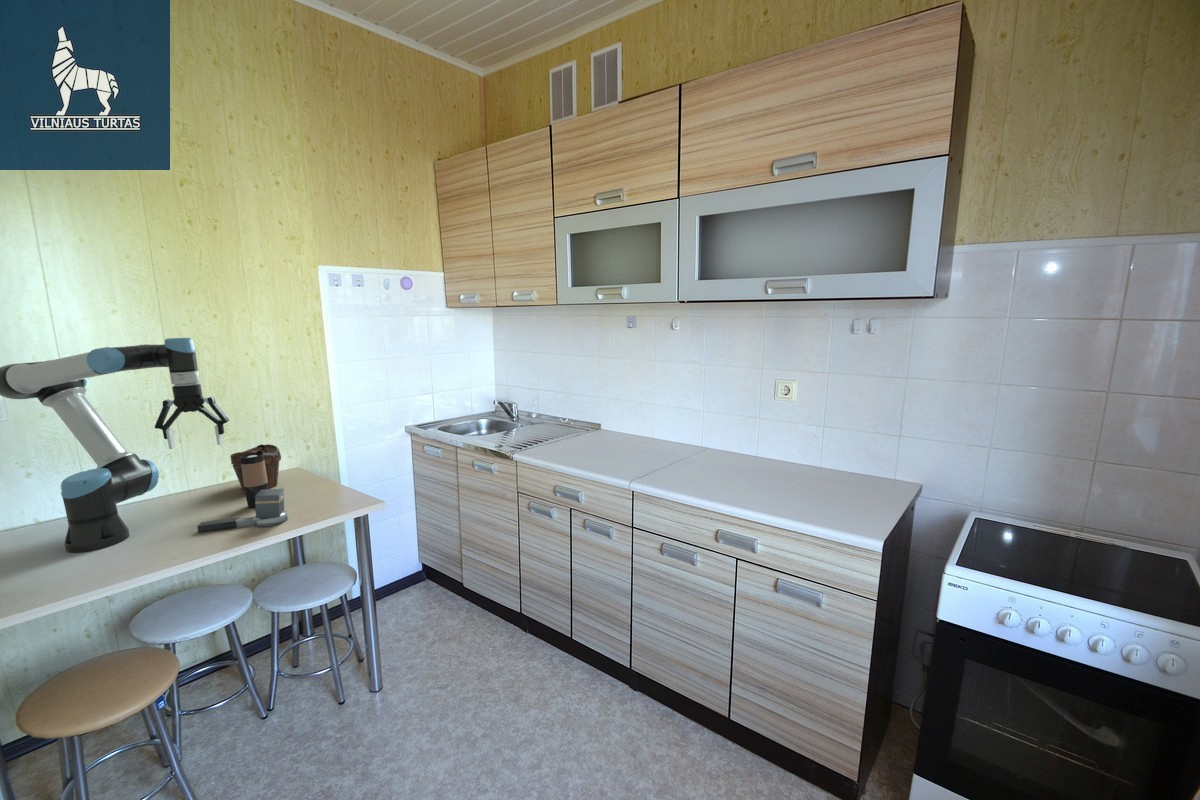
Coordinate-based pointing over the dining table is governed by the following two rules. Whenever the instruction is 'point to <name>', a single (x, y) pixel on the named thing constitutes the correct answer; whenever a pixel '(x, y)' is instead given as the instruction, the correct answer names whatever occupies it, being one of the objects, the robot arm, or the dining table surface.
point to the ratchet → (241, 523)
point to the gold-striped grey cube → (269, 503)
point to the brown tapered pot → (270, 458)
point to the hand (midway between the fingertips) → (196, 446)
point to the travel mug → (253, 476)
